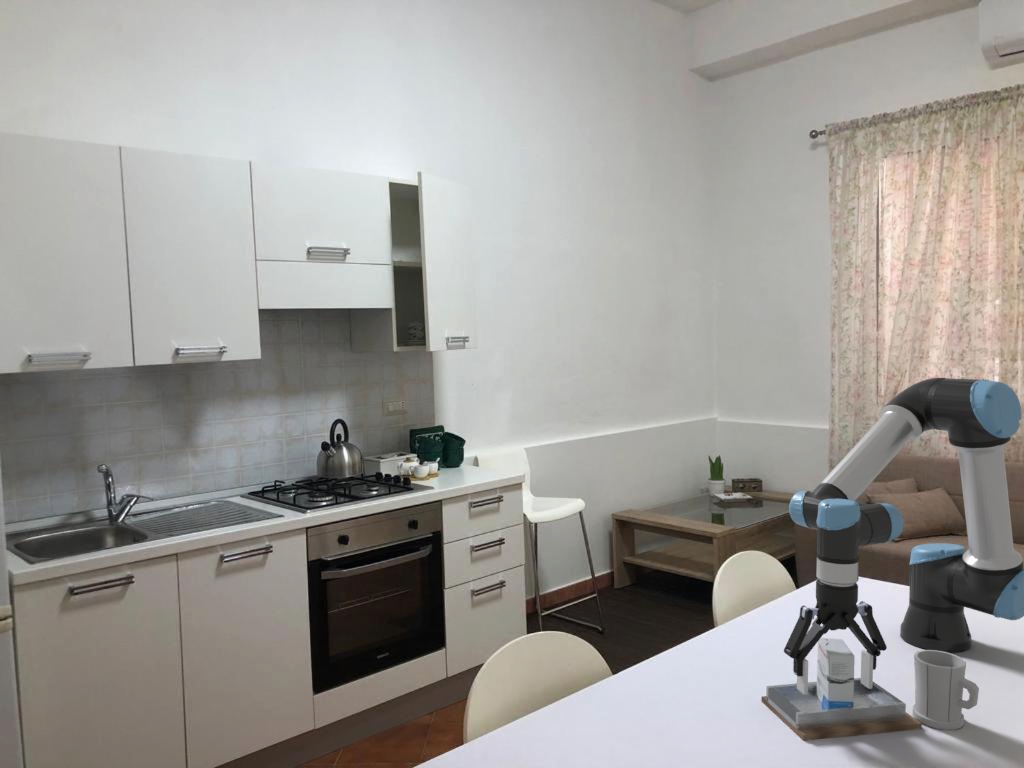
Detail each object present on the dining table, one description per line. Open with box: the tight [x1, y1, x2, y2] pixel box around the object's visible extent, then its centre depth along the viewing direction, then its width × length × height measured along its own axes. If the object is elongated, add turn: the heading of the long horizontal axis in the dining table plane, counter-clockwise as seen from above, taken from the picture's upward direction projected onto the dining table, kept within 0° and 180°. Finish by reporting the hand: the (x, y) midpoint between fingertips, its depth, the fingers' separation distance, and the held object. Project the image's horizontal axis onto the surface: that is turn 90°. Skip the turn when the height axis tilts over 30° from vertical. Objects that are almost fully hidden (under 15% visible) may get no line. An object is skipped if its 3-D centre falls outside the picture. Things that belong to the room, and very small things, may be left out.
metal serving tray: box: [765, 677, 907, 730], centre depth 159 cm, size 22×12×3 cm, turn 100°
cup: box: [912, 649, 980, 731], centre depth 156 cm, size 10×9×12 cm
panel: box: [760, 695, 923, 742], centre depth 159 cm, size 24×16×1 cm, turn 100°
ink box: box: [816, 637, 855, 709], centre depth 158 cm, size 8×5×12 cm, turn 173°
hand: (834, 688), depth 159 cm, fingers open, 13 cm apart
